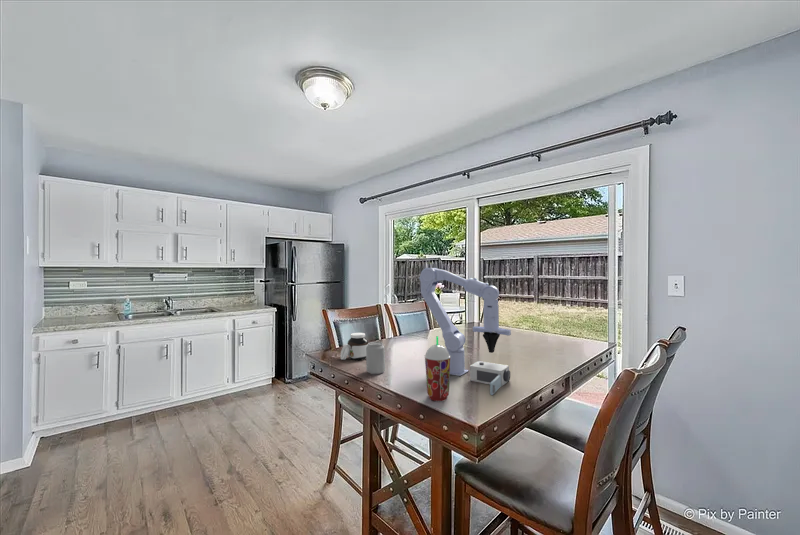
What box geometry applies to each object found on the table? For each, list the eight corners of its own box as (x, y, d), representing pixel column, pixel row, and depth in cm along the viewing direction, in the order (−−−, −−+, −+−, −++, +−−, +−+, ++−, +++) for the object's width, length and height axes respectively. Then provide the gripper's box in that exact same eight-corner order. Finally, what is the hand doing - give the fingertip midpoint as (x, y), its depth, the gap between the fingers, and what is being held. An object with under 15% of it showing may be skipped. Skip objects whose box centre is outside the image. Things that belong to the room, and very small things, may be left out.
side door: (494, 395, 110) (494, 383, 111) (489, 394, 111) (489, 383, 111) (503, 385, 120) (503, 374, 120) (499, 385, 120) (498, 374, 120)
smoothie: (455, 401, 107) (454, 337, 107) (430, 404, 105) (430, 339, 105) (444, 392, 115) (443, 333, 115) (421, 395, 113) (420, 334, 113)
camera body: (469, 380, 127) (469, 364, 127) (478, 374, 134) (478, 359, 134) (504, 387, 119) (504, 369, 119) (512, 381, 126) (512, 364, 126)
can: (373, 376, 134) (373, 345, 134) (362, 372, 139) (362, 342, 139) (388, 372, 139) (388, 342, 139) (377, 368, 144) (377, 340, 144)
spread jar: (371, 358, 160) (371, 333, 160) (353, 363, 152) (352, 337, 152) (354, 354, 168) (354, 331, 168) (336, 359, 160) (335, 334, 160)
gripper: (469, 316, 133) (469, 351, 133) (506, 319, 124) (506, 357, 124) (476, 314, 138) (477, 348, 138) (512, 317, 130) (512, 353, 130)
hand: (491, 352), depth 132 cm, fingers closed
